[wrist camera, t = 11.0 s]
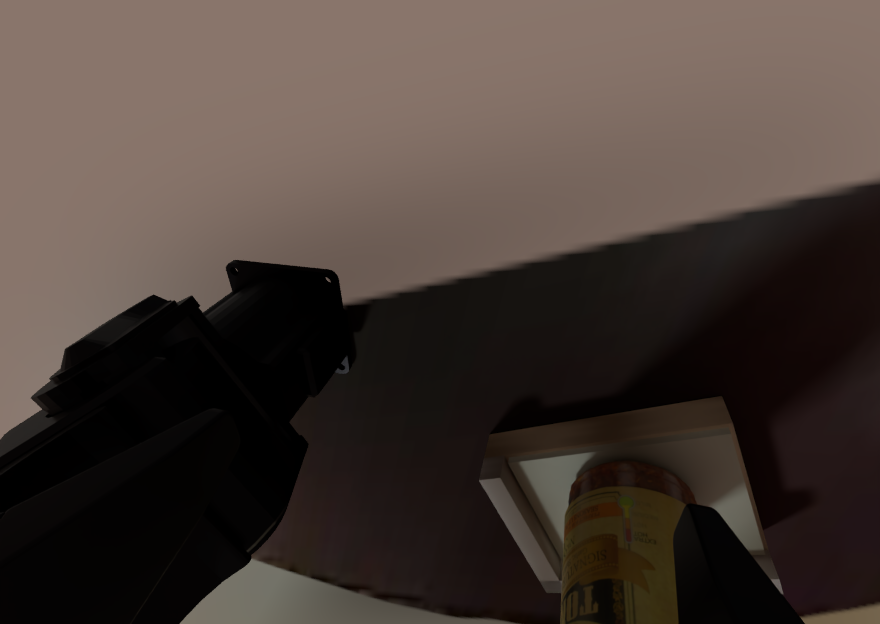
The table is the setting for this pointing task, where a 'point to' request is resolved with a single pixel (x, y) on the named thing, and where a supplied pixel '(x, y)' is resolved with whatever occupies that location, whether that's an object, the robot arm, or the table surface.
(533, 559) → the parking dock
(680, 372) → the table surface
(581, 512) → the sauce bottle
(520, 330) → the table surface
